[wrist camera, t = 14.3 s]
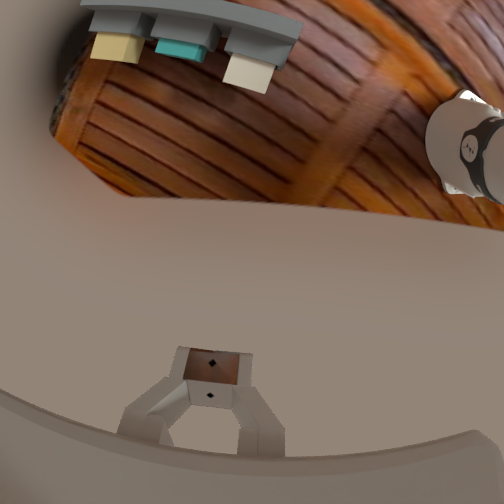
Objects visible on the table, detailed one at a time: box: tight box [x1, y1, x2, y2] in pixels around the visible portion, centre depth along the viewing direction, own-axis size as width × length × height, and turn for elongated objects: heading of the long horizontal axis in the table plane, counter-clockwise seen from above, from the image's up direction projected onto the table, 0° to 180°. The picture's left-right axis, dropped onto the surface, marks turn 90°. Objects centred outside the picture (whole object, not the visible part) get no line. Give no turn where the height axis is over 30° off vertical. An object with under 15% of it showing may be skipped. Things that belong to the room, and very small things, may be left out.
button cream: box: [223, 53, 276, 94], centre depth 32 cm, size 5×4×5 cm
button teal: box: [155, 38, 208, 63], centre depth 30 cm, size 5×4×5 cm
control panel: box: [80, 0, 304, 72], centre depth 29 cm, size 25×5×14 cm, turn 72°
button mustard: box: [90, 32, 145, 64], centre depth 29 cm, size 5×4×5 cm
